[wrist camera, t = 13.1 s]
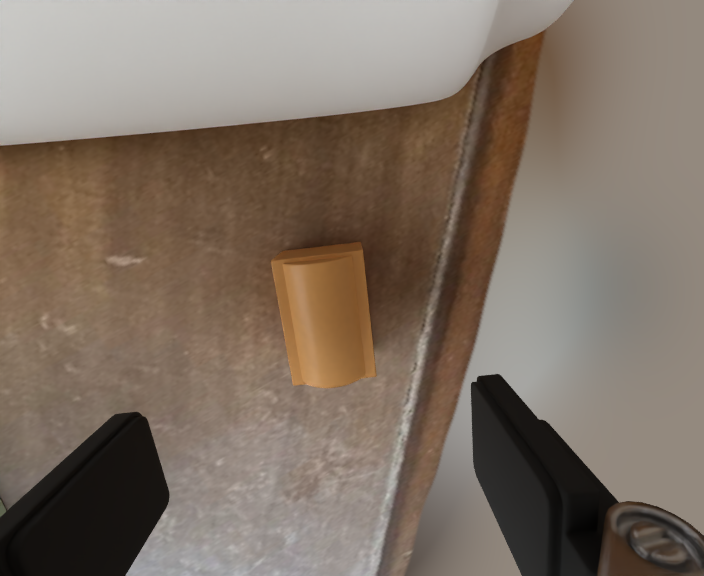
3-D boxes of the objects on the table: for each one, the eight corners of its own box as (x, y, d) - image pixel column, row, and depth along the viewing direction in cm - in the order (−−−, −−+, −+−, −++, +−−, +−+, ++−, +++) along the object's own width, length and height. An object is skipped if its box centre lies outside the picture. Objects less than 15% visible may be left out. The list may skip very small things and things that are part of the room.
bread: (282, 250, 20) (265, 264, 16) (360, 241, 20) (363, 253, 16) (300, 358, 22) (289, 396, 18) (372, 351, 22) (378, 386, 18)
